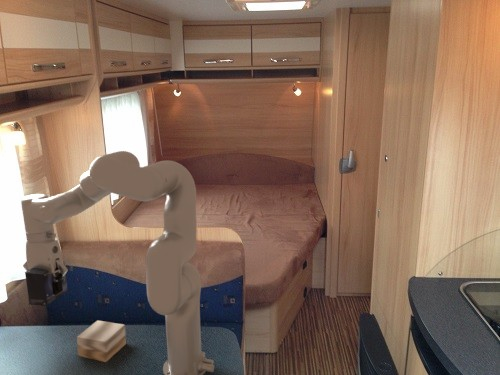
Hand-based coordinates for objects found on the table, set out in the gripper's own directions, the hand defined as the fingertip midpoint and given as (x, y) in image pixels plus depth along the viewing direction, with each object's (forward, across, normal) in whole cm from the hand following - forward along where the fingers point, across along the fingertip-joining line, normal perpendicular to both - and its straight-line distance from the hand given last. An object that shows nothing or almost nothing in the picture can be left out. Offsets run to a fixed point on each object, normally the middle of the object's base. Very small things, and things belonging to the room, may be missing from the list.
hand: (48, 290), depth 133 cm
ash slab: (+16, -16, -3) cm, 22 cm away
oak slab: (+20, -15, -3) cm, 25 cm away
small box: (+3, 0, 0) cm, 3 cm away
